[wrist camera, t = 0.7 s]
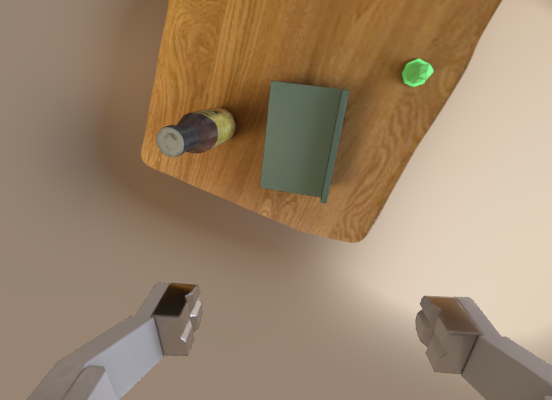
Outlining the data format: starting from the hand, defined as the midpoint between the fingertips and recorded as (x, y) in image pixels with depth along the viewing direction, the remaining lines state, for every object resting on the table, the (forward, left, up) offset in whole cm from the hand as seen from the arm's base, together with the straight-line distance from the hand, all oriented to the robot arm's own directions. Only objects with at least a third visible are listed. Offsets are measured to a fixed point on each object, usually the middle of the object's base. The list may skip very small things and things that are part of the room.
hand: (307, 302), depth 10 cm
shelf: (+1, -3, -46) cm, 46 cm away
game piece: (-12, +14, -46) cm, 50 cm away
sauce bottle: (+1, -18, -46) cm, 50 cm away
